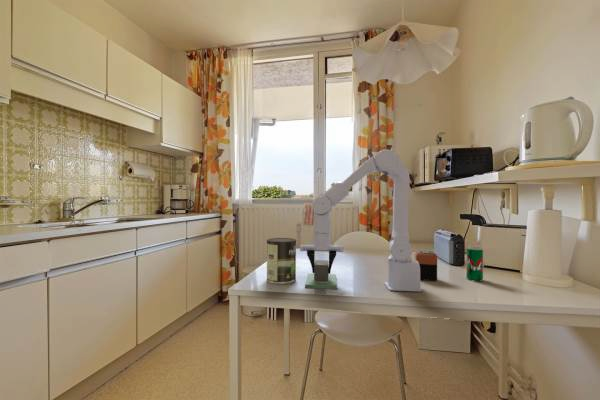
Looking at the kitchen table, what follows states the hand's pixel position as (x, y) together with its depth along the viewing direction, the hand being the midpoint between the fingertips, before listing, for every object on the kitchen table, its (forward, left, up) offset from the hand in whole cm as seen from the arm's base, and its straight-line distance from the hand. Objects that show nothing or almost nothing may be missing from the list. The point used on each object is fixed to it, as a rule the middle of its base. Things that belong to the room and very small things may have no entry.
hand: (321, 272), depth 97 cm
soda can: (-54, -10, -3) cm, 55 cm away
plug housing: (0, 0, -2) cm, 2 cm away
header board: (0, 0, -3) cm, 3 cm away
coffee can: (+14, -1, -3) cm, 14 cm away
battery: (-37, -9, -3) cm, 38 cm away
